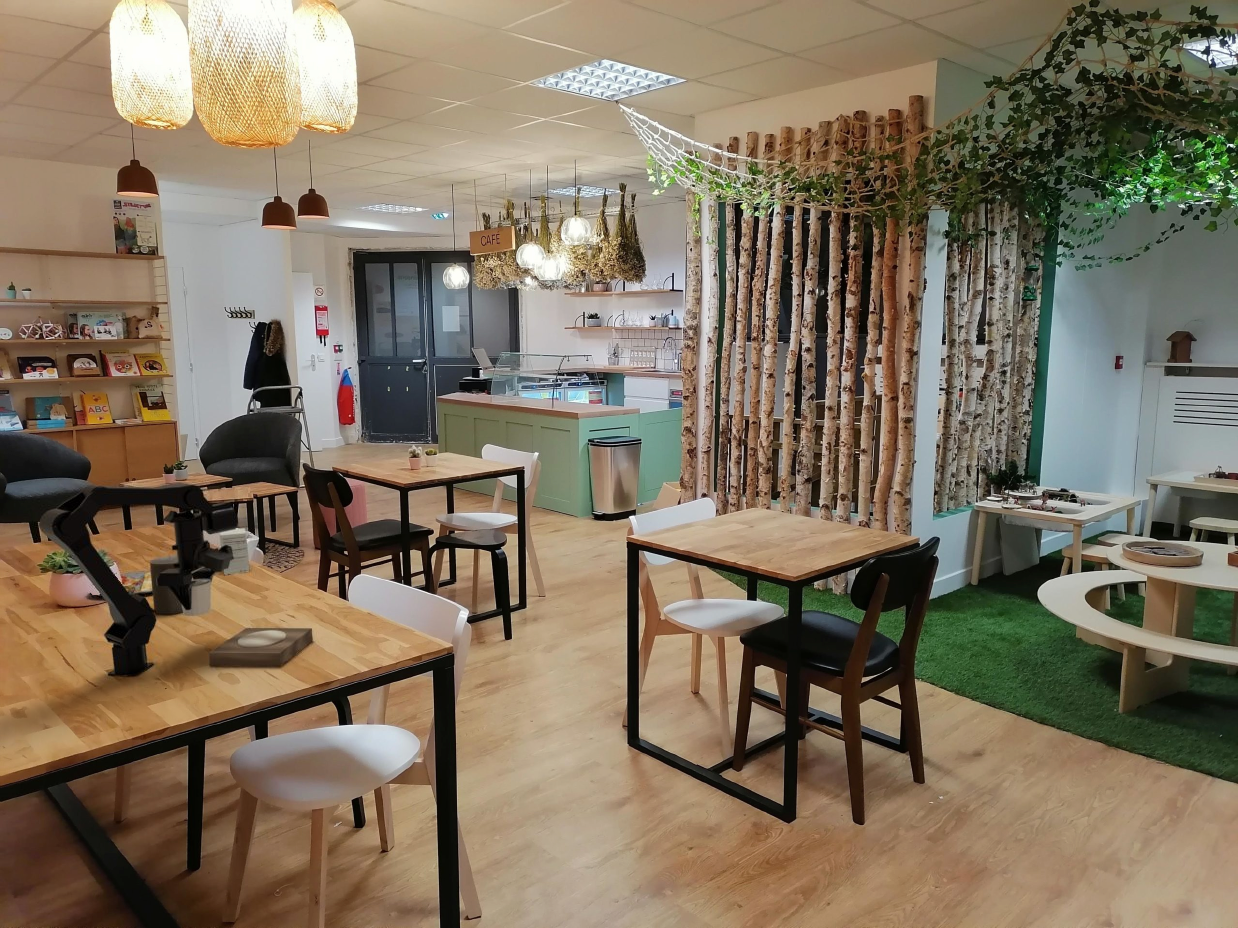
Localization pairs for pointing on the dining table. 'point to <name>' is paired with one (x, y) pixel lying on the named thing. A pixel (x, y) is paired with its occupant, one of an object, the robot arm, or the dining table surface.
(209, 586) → the white cup
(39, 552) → the dining table surface
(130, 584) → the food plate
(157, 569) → the pillar candle
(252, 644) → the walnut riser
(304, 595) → the dining table surface
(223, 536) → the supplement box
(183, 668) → the dining table surface
